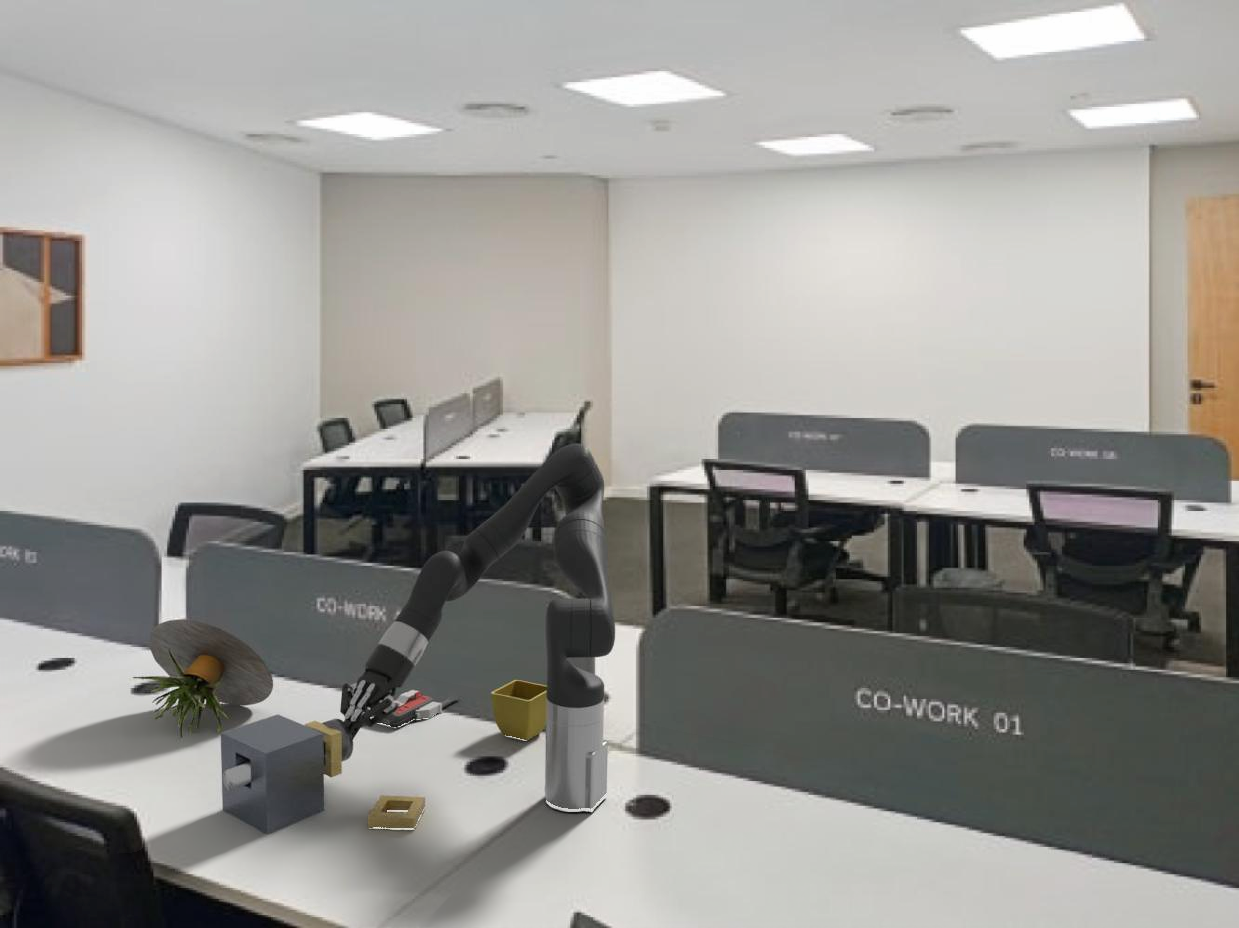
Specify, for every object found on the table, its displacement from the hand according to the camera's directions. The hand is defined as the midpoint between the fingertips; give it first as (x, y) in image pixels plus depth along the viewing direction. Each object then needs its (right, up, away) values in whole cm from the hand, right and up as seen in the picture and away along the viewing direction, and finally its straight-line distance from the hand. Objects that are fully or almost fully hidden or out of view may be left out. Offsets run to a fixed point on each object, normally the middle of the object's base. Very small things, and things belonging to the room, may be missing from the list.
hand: (340, 743), depth 163 cm
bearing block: (-7, -7, -10) cm, 15 cm away
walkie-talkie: (+6, -3, +32) cm, 33 cm away
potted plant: (-33, -3, +24) cm, 41 cm away
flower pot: (+28, -5, +21) cm, 36 cm away
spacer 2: (+12, -8, -12) cm, 19 cm away
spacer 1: (-2, 0, -4) cm, 4 cm away
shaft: (-6, -3, -9) cm, 11 cm away
